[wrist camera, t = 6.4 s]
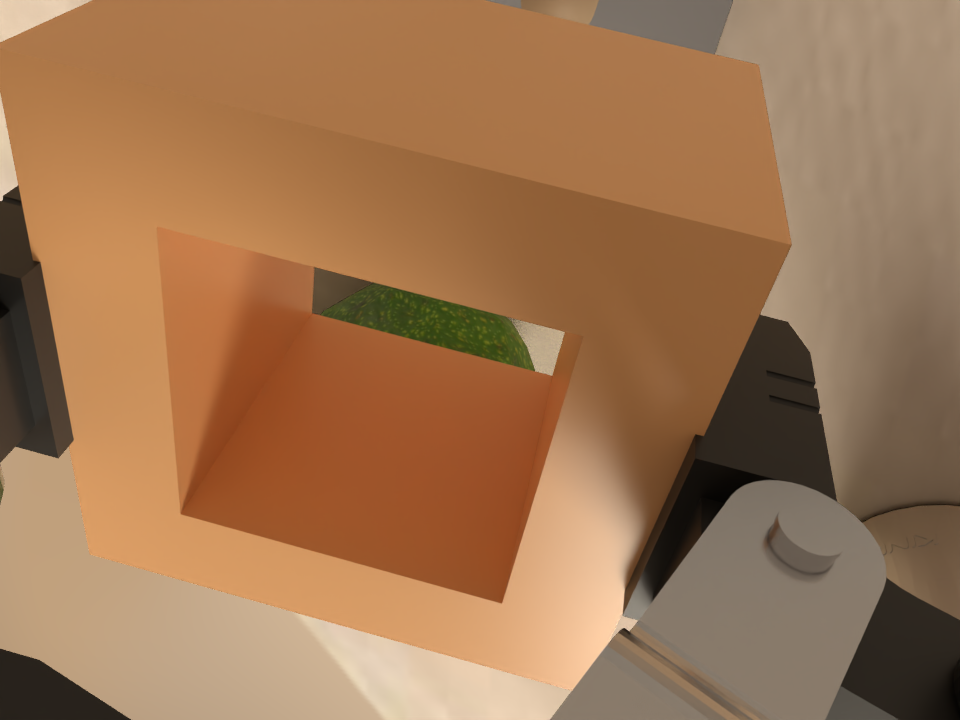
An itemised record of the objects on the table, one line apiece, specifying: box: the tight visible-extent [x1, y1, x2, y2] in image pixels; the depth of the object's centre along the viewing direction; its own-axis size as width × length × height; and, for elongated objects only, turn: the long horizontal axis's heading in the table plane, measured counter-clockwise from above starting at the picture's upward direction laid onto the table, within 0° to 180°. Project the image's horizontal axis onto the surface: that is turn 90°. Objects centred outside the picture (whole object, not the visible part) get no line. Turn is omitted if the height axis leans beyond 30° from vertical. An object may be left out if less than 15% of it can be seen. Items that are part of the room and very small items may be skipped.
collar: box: [0, 0, 792, 691], centre depth 10 cm, size 6×6×4 cm
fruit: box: [321, 283, 535, 371], centre depth 33 cm, size 15×10×10 cm, turn 152°
